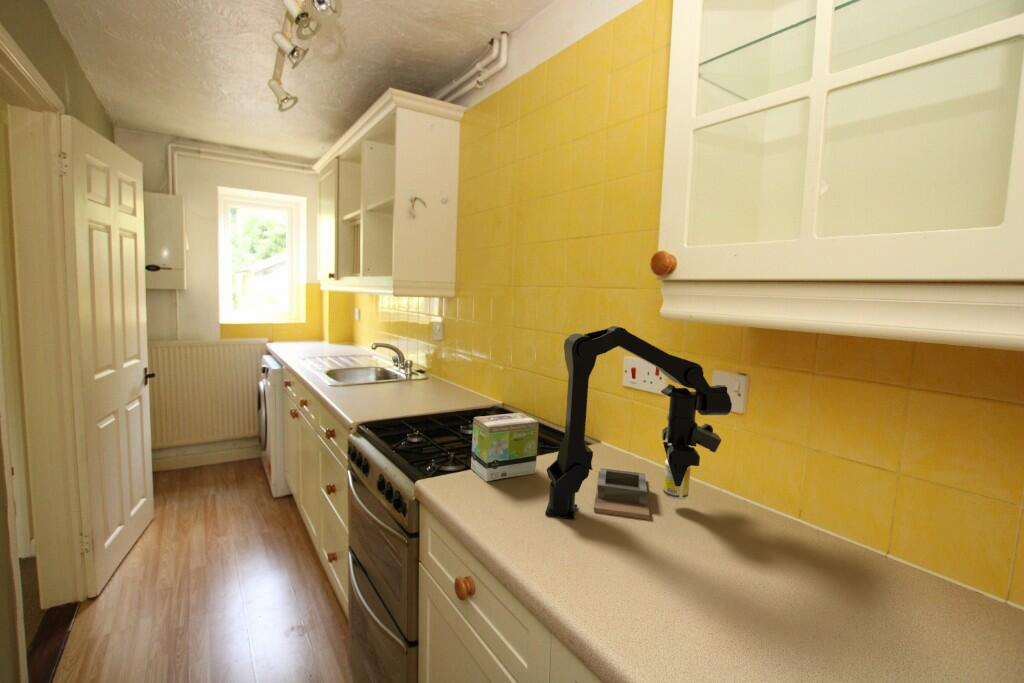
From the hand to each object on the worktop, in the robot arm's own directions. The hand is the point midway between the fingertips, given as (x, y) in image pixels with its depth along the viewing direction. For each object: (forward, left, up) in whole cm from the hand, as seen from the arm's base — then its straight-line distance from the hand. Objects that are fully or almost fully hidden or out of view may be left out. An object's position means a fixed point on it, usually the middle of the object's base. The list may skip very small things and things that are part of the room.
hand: (676, 480), depth 108 cm
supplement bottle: (0, 0, -4) cm, 4 cm away
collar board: (+3, +12, -6) cm, 14 cm away
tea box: (+8, +43, -7) cm, 44 cm away
